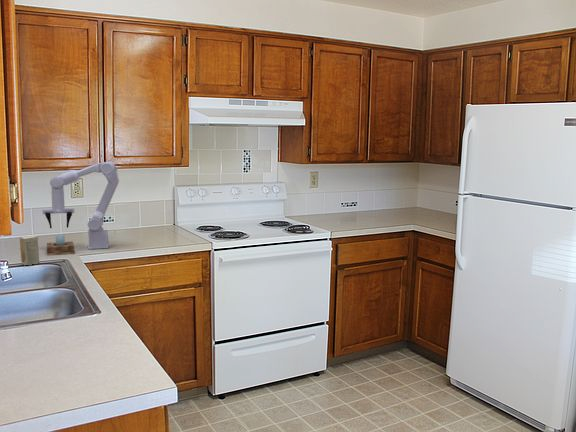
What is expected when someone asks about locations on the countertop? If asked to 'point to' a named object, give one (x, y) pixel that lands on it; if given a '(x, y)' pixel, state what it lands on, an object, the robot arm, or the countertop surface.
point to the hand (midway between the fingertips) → (59, 227)
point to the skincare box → (29, 250)
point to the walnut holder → (60, 248)
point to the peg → (60, 240)
